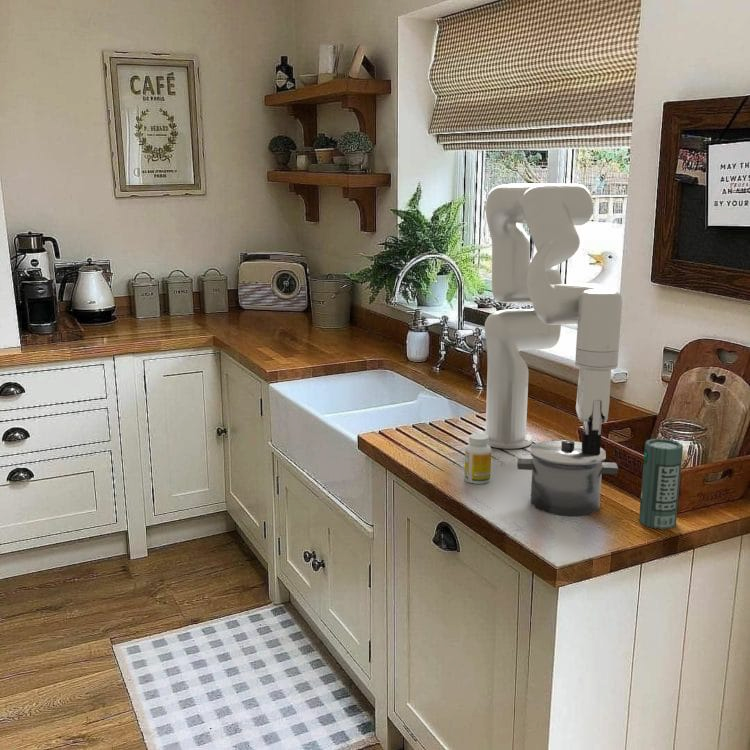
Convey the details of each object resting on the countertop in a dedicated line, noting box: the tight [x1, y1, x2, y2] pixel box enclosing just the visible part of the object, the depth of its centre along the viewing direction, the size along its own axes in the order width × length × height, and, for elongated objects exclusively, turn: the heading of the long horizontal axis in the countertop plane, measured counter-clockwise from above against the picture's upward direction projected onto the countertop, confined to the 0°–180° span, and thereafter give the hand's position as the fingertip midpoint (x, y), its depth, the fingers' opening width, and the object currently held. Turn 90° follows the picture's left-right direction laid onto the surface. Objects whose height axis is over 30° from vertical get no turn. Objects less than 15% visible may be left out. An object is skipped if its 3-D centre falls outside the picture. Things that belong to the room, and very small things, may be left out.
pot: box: [516, 456, 619, 517], centre depth 158 cm, size 13×19×9 cm
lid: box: [529, 439, 607, 465], centre depth 157 cm, size 15×14×2 cm
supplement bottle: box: [464, 432, 492, 485], centre depth 170 cm, size 5×5×10 cm
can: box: [638, 438, 684, 530], centre depth 149 cm, size 6×6×15 cm
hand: (590, 453), depth 155 cm, fingers closed
